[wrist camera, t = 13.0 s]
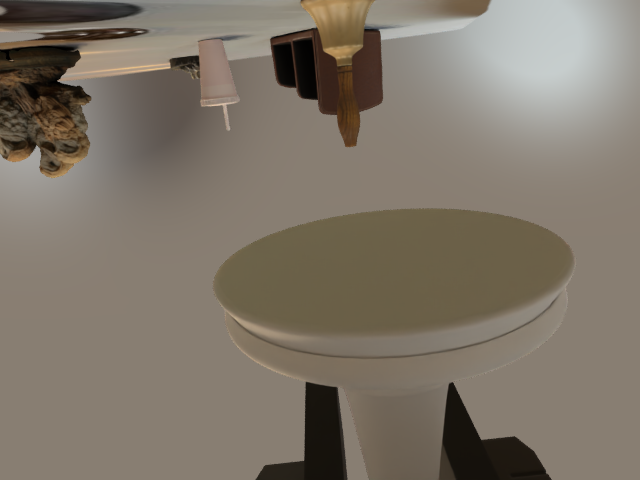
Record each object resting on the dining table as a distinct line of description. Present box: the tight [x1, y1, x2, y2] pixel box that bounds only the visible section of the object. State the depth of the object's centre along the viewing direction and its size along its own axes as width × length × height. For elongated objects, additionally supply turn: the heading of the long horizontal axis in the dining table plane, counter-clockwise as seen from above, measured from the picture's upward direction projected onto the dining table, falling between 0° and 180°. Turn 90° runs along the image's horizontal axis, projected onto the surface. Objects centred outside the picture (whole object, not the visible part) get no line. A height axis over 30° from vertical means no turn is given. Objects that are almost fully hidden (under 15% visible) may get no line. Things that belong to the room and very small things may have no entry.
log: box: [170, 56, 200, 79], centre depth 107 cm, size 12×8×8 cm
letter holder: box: [270, 28, 383, 115], centre depth 92 cm, size 10×20×14 cm, turn 38°
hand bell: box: [301, 0, 375, 147], centre depth 56 cm, size 8×8×16 cm
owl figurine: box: [0, 47, 91, 178], centre depth 71 cm, size 18×12×17 cm, turn 104°
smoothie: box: [198, 39, 240, 131], centre depth 81 cm, size 6×6×14 cm
